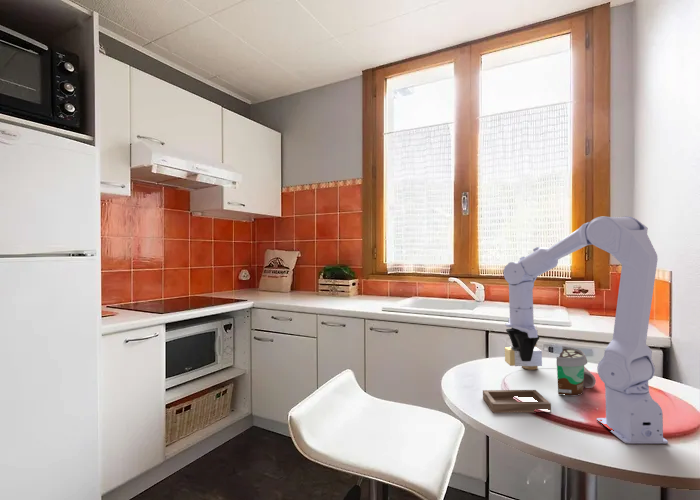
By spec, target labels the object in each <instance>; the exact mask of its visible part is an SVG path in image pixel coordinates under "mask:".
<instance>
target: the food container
mask: <svg viewBox="0 0 700 500" xmlns="http://www.w3.org/2000/svg"><path fill="white" fill-rule="evenodd" d="M561 349H562V351H561V352H560V354H559V356H556V374H557V393H558V394H565V395H578V394H581V393H582V392H583V393H584V387H583V380H584V367H585V365H587V364H588V360H587V356H586V354H585V352H584V351H582V350H580V349H578V348H574V347H571V346H564V345H562V348H561ZM583 393H582V394H583ZM582 394H581V395H582ZM578 396H579V395H578Z"/></svg>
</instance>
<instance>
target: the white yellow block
mask: <svg viewBox="0 0 700 500" xmlns="http://www.w3.org/2000/svg"><path fill="white" fill-rule="evenodd" d="M542 356H543V353H542V350H541V349H540V348H539V347H534V350H533V354H532V358H531V361H522V360H521V356H520V350H519V347H513V346H507V347H506V346H505V347H504V361H505V363H506V364H507V365H509V366H511V367H522V366H538V367H543V358H542Z"/></svg>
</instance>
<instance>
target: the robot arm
mask: <svg viewBox="0 0 700 500" xmlns="http://www.w3.org/2000/svg"><path fill="white" fill-rule="evenodd" d="M589 245H590V246H591V245H593V246H594V247H596V248H599V249H600V250H603V251H605V252H606V253H609V254H610V255H611V256H613V257H614V258H615V259H616V260H617V261H618V262H619V263H620V264H621V270H620V279H619V286H618V295H617V302H616V303H617V304H616V310H615V316H614V317H615V319H614V326H613V334H612V339H611V341H610V342H609V343H608V345H607V346H606V348H605V349H604V354H603V357H602V358H601V360H600V361H598V364H597V369H596V370H597V375H598V377H599V379H600V380H601V381H602V382H603V384H604V388H605V389H604V392H605V393H604V394H605V395H604V396H605V417H597V418H596V421H597V420H598V421H600V420H602V421H600V422H601V423H603V424H607V425H608V426H609V427H610V428H612V429H613V430H614V431H613V430H611V431H610V432H611V433H612V434H613V435H614V436H616V437H617V438H618V439H619V440H621V442H623V443H624V444H668V443H669V440H668V439H666V438H665V437H664V421H663V418H664V417H663V416H664V415H663V413H664V412H663V409H662V407H661V406H660V405H659V403H658V402H657V401H655V400H654V399H653V397H652V396H651V393H650V387H649V381H651V379H652V378H653V377H655V372H656V368H655V365H654V362H653V357H652V354H653V350H652V349H651V348H650V346H648V345H647V339H648V338H647V337H648V331H649V322H650V318H651V317H650V316H651V310H652V301H653V296H654V295H653V294H654V288H655V287H654V286H655V281H656V273H657V265H658V259H659V258H658V254H657V251H656V249H655V248H654V246H653V243H652V241H651V240H650V237H649V235H648V227H647V226H646V225H645V224H643V223H642V222H641V221H640V220H639V219H637V218H635V217H633V216H629V215H628V216H627V215H626V216H625V215H624V216H619V217H618V216H606V215H605V216H597V217H594V218H593V219H592V220H590V221H587V222H585V223H583V224H581V226H579V228H577V229H576V230H575V231H573V232H571V233H569V234H568V235H566V236H565V237H564V238H562V239H561V240H559V241H558V242H556V243H555V244H554V245H552V246H550V247H547V246H542V247H540V246H538V247H537V246H536V247H534V248H533V249H532V251H533V252H531V253H529V254H527V255H526V256H521V257H520V258H519V260H518V262H514V261H509V262H508V263H507V264H506V266H504V269H503V277H504V280H505V281H506V282H507V283H508V297H509V299H508V301H509V304H508V305H509V306H508V307H509V317H508V318H507V322H506V323H505V327H507V328H506V329H505V331H506V333H507V335H508V337H509V340H510V342H511V345H512V346H511V347H519V350H520V356H521V360H522V361H531V358H532V354H533V350H534V347H535V345H536V344H537V343H538V341H539V340H540V336H539V334H538V329H537V330H536V329H535V325H536V324H535V323H534V321H535V319H534V297H533V296H534V292H533V291H534V287H535V281H536V280H537V278H538V277H540V276H541V275H543V274H545V273H547V272H548V271H549V272H550V271H551V270H552V269H555V268H556V267H557V266H558V263H559V260H560V259H562V258H565V257H566V256H568V255H570V254H572V253H575V252H577V251H579V250H581V249H583V248H584V247H587V246H589ZM598 421H597V422H598Z"/></svg>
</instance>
